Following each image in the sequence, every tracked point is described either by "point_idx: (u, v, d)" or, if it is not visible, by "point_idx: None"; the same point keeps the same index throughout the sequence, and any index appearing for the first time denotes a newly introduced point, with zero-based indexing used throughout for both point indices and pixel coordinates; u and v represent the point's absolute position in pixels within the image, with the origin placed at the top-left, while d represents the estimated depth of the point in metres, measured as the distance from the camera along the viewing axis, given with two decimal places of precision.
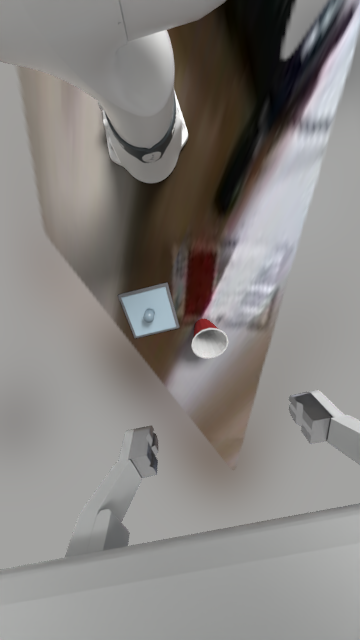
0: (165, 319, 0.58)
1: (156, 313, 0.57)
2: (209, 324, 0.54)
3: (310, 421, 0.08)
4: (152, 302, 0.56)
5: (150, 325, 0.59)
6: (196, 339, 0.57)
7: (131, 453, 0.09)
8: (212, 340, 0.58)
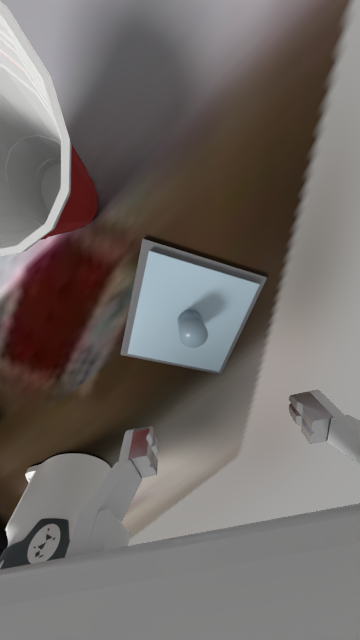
0: (164, 287, 0.21)
1: (176, 313, 0.23)
2: None
3: (310, 421, 0.08)
4: (170, 338, 0.24)
5: (208, 292, 0.22)
6: (82, 174, 0.13)
7: (131, 453, 0.09)
8: (6, 114, 0.12)
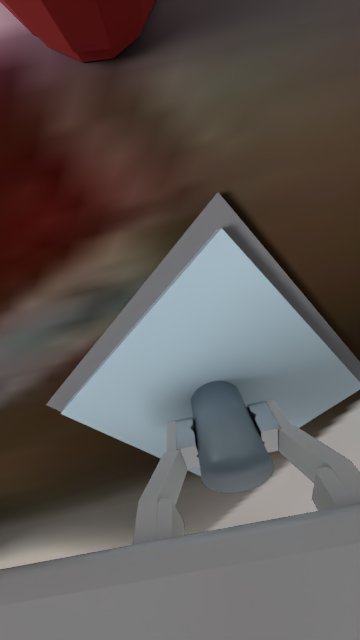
0: (207, 325, 0.09)
1: (200, 378, 0.11)
2: None
3: (260, 431, 0.09)
4: (162, 415, 0.12)
5: (279, 367, 0.11)
6: None
7: (179, 443, 0.09)
8: None
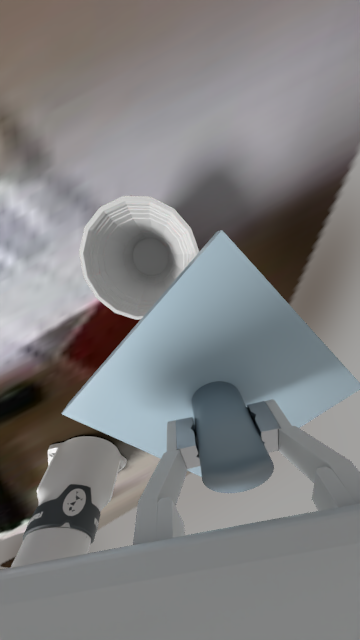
0: (207, 325, 0.09)
1: (200, 379, 0.11)
2: None
3: (260, 431, 0.09)
4: (162, 415, 0.12)
5: (279, 368, 0.11)
6: (176, 262, 0.22)
7: (178, 443, 0.09)
8: (144, 227, 0.21)
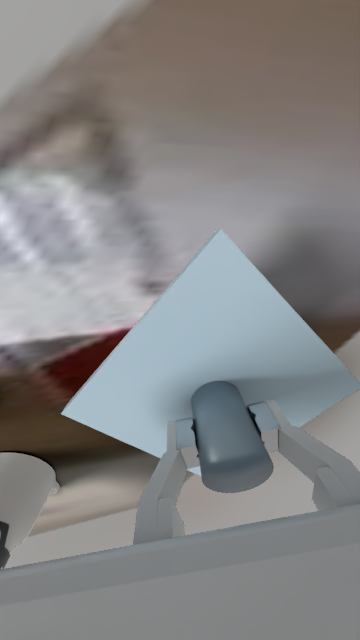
0: (206, 325, 0.09)
1: (200, 378, 0.11)
2: None
3: (260, 431, 0.08)
4: (162, 415, 0.12)
5: (279, 367, 0.11)
6: None
7: (178, 443, 0.09)
8: None
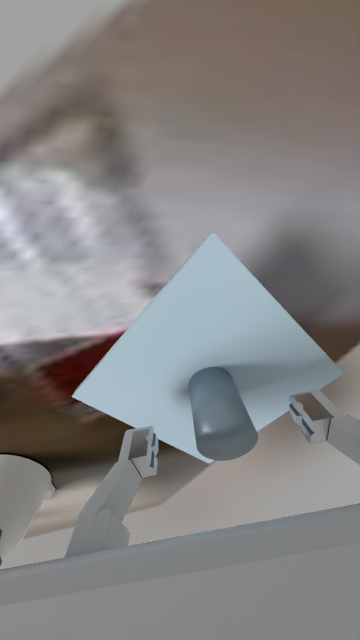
0: (201, 316, 0.11)
1: (196, 364, 0.12)
2: None
3: (310, 421, 0.08)
4: (162, 398, 0.13)
5: (266, 354, 0.12)
6: None
7: (131, 453, 0.09)
8: None
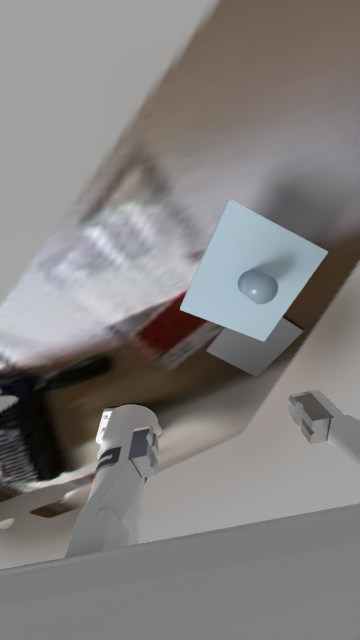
0: (234, 242, 0.21)
1: (239, 271, 0.23)
2: None
3: (310, 421, 0.08)
4: (225, 299, 0.24)
5: (276, 254, 0.22)
6: None
7: (131, 453, 0.09)
8: None
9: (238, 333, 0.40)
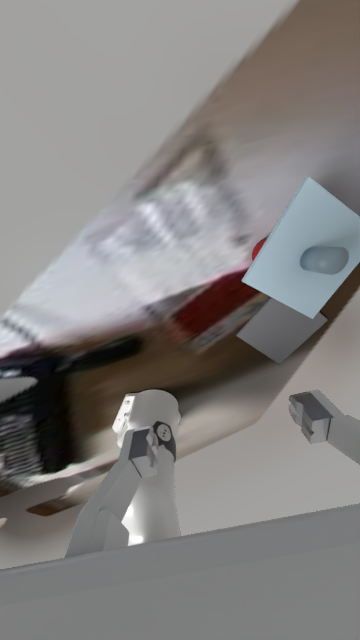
0: (305, 218, 0.23)
1: (303, 247, 0.24)
2: None
3: (310, 421, 0.08)
4: (286, 273, 0.26)
5: (338, 232, 0.24)
6: None
7: (131, 453, 0.09)
8: None
9: (269, 319, 0.42)
